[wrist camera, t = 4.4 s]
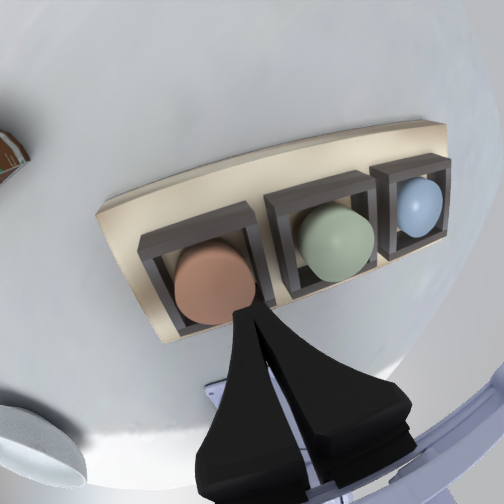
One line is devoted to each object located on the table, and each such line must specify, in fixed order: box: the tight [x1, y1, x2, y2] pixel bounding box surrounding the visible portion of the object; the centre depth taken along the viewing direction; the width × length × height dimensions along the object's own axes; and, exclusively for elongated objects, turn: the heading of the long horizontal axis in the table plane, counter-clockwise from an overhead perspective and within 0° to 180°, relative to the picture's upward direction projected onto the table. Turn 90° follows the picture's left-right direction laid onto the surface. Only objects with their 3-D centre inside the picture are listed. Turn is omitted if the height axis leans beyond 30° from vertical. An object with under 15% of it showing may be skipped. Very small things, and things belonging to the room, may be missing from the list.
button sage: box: [297, 203, 374, 282], centre depth 16 cm, size 4×4×2 cm
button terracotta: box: [174, 242, 255, 325], centre depth 15 cm, size 4×4×2 cm
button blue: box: [397, 176, 443, 237], centre depth 17 cm, size 4×4×2 cm
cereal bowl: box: [0, 405, 87, 488], centre depth 21 cm, size 17×17×7 cm
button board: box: [95, 120, 451, 344], centre depth 18 cm, size 10×24×4 cm, turn 103°
